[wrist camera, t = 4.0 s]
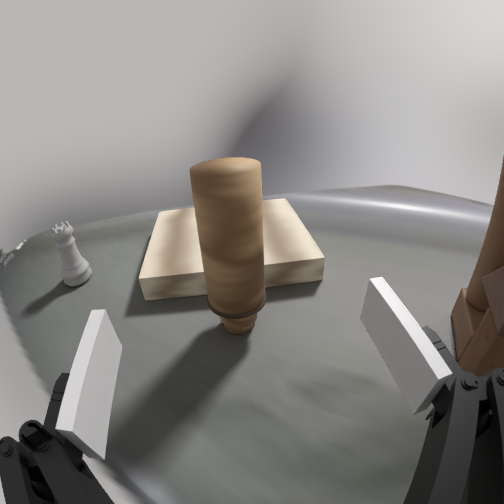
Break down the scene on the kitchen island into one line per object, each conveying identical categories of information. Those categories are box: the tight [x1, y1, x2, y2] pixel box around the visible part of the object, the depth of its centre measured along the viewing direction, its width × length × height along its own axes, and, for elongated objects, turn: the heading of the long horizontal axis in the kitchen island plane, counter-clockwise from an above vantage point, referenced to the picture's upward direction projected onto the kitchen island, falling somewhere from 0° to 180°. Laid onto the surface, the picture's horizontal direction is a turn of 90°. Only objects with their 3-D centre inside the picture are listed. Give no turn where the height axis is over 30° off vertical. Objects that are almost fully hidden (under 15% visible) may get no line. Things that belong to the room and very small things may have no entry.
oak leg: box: [190, 158, 266, 334], centre depth 24 cm, size 5×5×15 cm
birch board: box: [139, 199, 325, 301], centre depth 39 cm, size 20×18×3 cm
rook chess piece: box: [51, 221, 92, 287], centre depth 33 cm, size 4×4×8 cm
